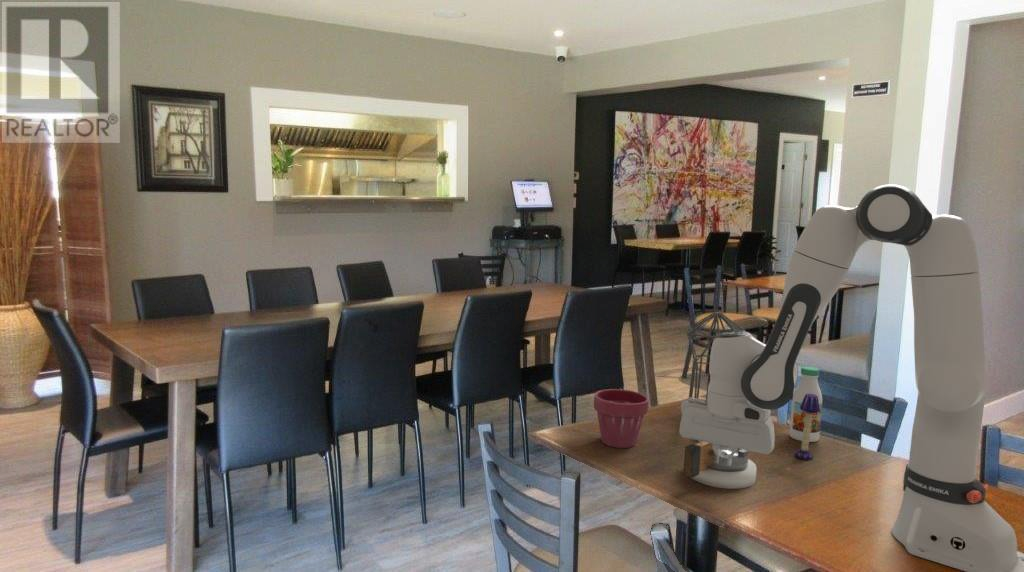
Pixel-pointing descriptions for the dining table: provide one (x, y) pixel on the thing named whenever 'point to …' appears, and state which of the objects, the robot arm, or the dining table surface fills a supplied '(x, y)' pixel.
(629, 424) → the plant pot
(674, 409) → the dining table surface
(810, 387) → the milk bottle
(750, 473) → the white round plate
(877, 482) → the dining table surface
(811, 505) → the dining table surface
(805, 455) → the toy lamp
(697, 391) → the geometric lantern
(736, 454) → the lugged steel disc
